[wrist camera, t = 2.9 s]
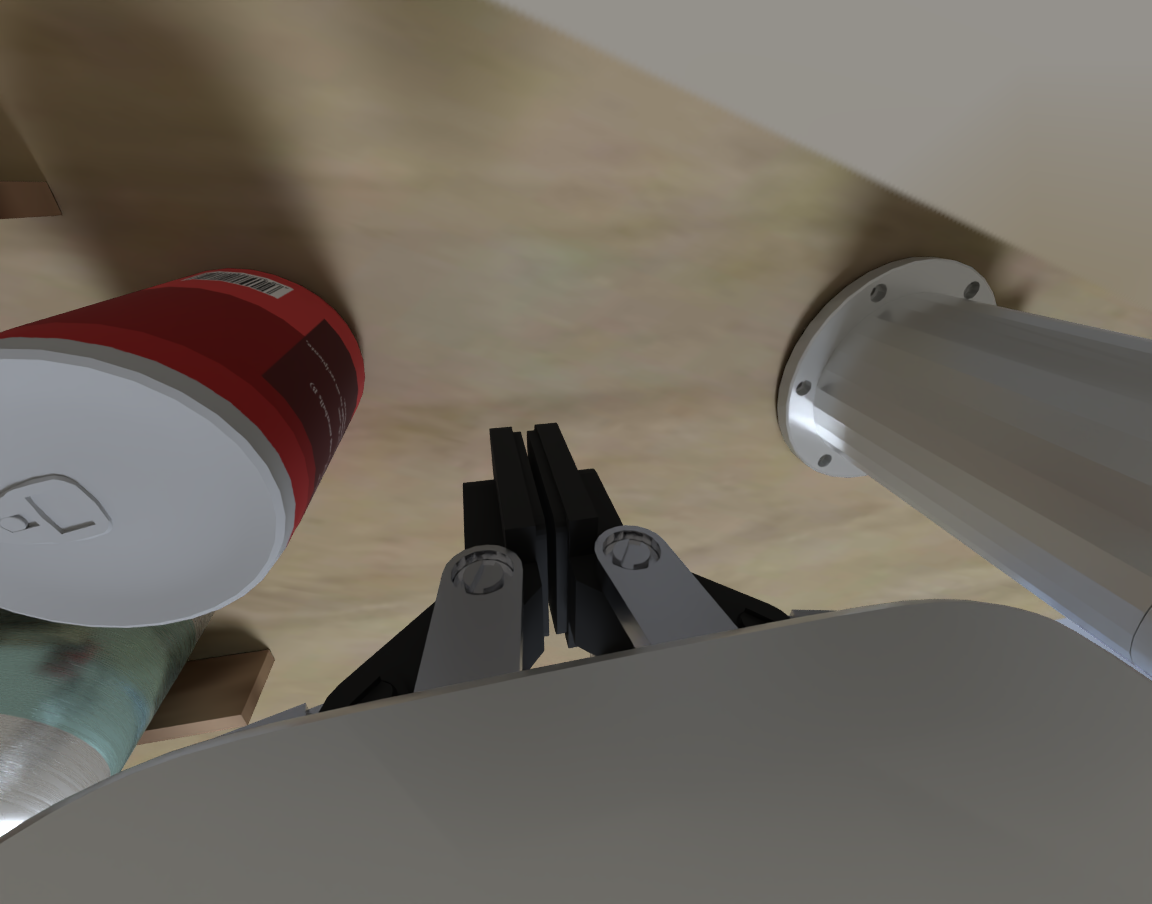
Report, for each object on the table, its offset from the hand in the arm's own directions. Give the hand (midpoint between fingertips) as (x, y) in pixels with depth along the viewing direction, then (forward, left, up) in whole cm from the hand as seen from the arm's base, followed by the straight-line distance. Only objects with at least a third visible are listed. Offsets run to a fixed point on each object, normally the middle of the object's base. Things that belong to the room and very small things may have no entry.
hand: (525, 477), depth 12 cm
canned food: (+10, 0, -12) cm, 15 cm away
